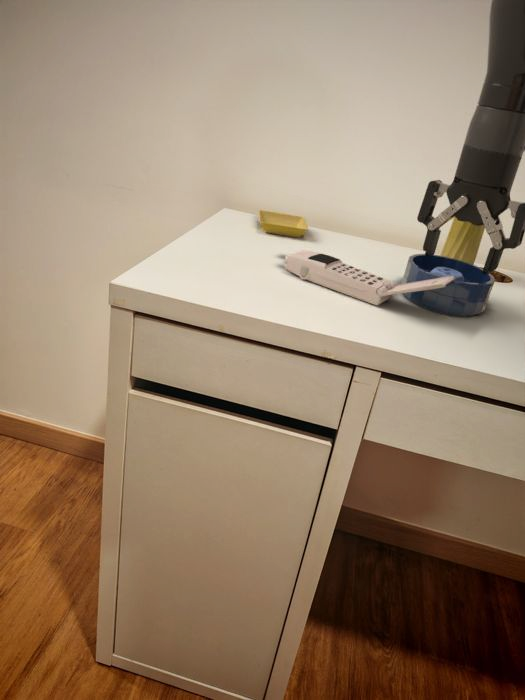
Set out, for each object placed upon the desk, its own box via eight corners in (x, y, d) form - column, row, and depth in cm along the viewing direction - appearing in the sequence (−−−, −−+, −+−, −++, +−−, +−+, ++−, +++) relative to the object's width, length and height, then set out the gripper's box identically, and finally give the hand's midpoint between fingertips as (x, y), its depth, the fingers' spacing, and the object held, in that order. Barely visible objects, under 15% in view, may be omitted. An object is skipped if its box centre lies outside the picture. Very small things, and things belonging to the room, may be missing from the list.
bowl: (492, 305, 88) (503, 274, 86) (469, 325, 78) (481, 291, 76) (416, 279, 93) (425, 249, 91) (386, 295, 84) (395, 262, 82)
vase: (431, 261, 105) (456, 180, 98) (463, 265, 106) (489, 185, 99) (444, 272, 99) (471, 188, 93) (477, 277, 100) (506, 193, 94)
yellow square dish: (306, 241, 103) (308, 229, 102) (257, 233, 102) (259, 221, 101) (302, 227, 110) (304, 217, 109) (256, 220, 110) (258, 209, 109)
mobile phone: (445, 285, 73) (276, 228, 83) (430, 328, 75) (268, 267, 86) (457, 276, 77) (296, 223, 88) (443, 317, 80) (288, 261, 90)
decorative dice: (459, 301, 85) (468, 275, 84) (442, 304, 83) (451, 277, 81) (438, 290, 88) (446, 265, 86) (421, 293, 86) (429, 267, 84)
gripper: (432, 136, 77) (401, 253, 84) (543, 159, 70) (499, 285, 77) (451, 136, 83) (420, 246, 90) (555, 157, 76) (513, 274, 83)
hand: (457, 264), depth 84 cm, fingers open, 8 cm apart
